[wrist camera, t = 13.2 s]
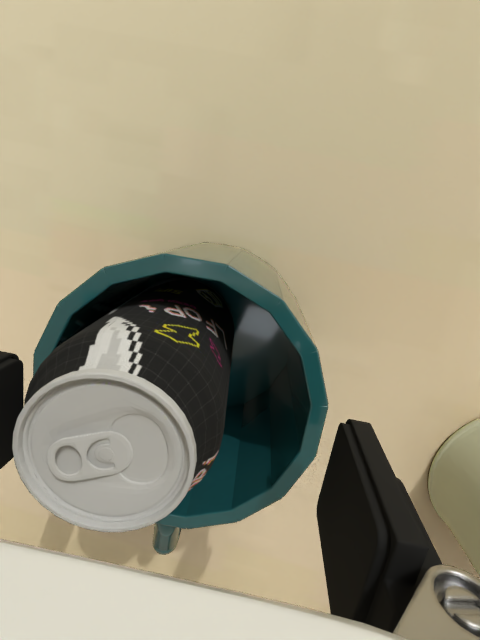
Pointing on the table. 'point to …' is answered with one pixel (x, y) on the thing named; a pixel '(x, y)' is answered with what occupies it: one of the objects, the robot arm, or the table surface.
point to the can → (459, 488)
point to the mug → (244, 384)
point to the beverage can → (129, 409)
